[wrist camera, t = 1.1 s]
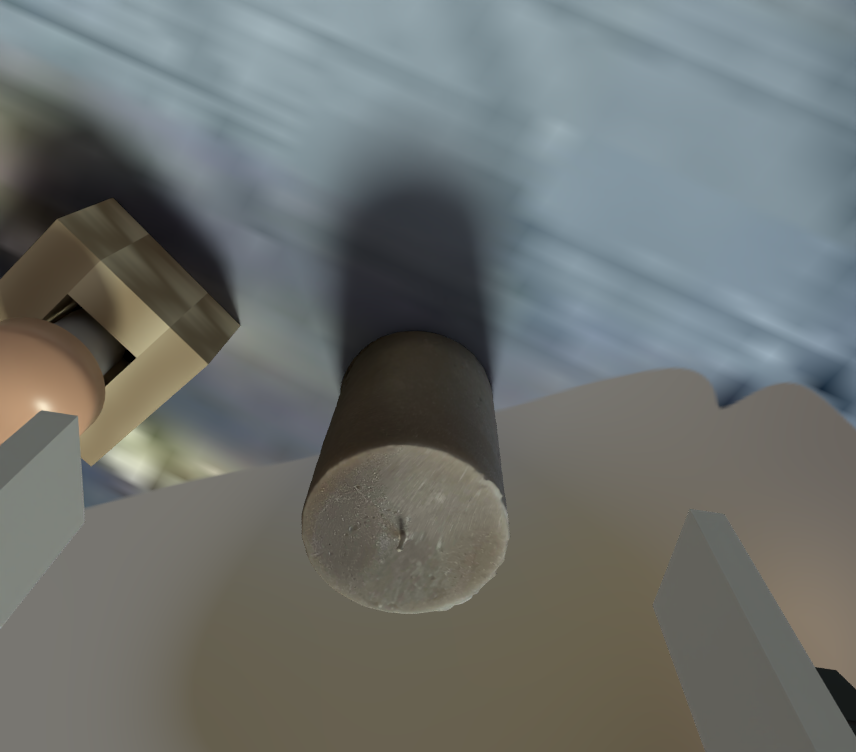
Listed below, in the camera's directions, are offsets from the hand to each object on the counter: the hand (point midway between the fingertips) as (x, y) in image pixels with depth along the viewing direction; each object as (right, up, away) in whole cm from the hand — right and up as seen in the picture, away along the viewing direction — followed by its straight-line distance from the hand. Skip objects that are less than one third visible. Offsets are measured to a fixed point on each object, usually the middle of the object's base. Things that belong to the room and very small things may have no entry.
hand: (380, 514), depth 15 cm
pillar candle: (0, +1, +29) cm, 29 cm away
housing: (-17, +7, +27) cm, 33 cm away
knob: (-18, +5, +24) cm, 30 cm away
